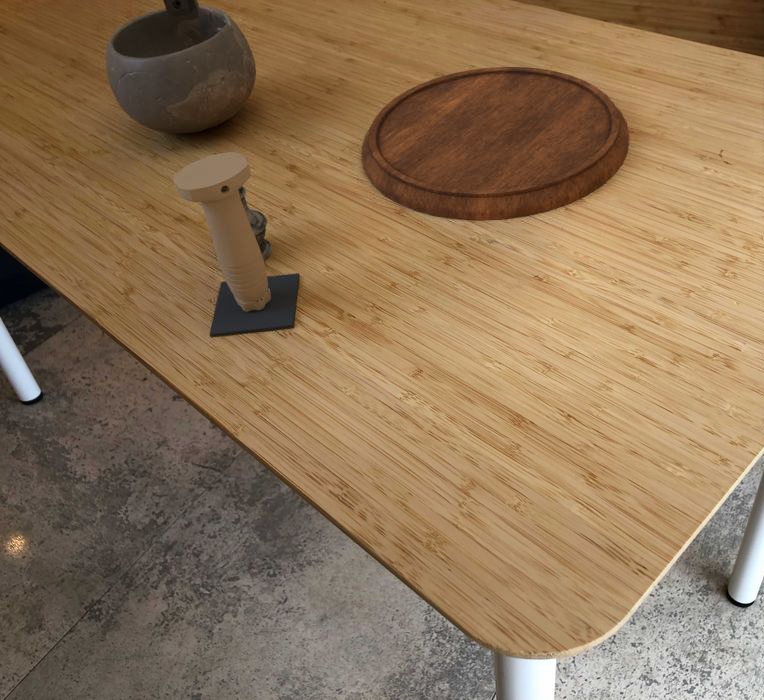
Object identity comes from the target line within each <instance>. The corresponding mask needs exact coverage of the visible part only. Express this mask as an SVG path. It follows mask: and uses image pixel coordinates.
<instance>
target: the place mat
mask: <svg viewBox="0 0 764 700" xmlns="http://www.w3.org/2000/svg"><path fill="white" fill-rule="evenodd" d="M300 278H301V275H300V273H299V272H297V273H296V272H295V273H287V274H279V275H270V276H268V275H267V280H268V289H270V293H271V300H270V301H269V302H268V303H267V304H266V305H265V307H264V308H263V309H262V310H252V311H249V312H246V311H243V309H242V307H241V306H239V305H238V303H237V302H236V300H235V298H234V295H233V293H232V292H231V290H230V288H229V286H228V284H227V282H226V280H224V281H220V282H221V283H220V286H219V288H218V289H219V290H218V295H217V299H216V303H215V308H214V311H213V317H212V320H211V321H212V322H211V326H210V330H209V337H210V338H213V337H223V336H224V337H225V336H232V335H241V334H242V335H243V334H250V333H259V332H269V331H276V330H277V331H278V330H286V329H287V330H288V329H294V328H295V320H296V312H297V303H298V295H299V286H300Z"/></svg>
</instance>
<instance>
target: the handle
mask: <svg viewBox="0 0 764 700" xmlns="http://www.w3.org/2000/svg"><path fill="white" fill-rule="evenodd" d="M250 178H251V169H250V164H249V162H248V159H247V157H245V156H244V155H243V154H241V153H239V152H234V151H228V152H222V153H216V155H214V154H212V155H208V156H206V157H203V158H200V159H198V160H195V161H193V162H191V163H189V164H188V165H185V166H184V167H183V168H181V169H180V170H179V171H178V172H176V173H175V174H174V175H173V179H172V180H173V183H174V186H175V188H176V191H177V193H178V194H179V196H180V198H182V199H184V200H185V201H189V202H192V203H200V205H201V207H202V209H203V212H204V216H205V219H206V223H207V226H208V230H209V234H210V233H211V234H210V237H211V240H212V244H213V247H214V251H215V255H216V258H217V262H218V265H219V268H220V270H221V273H222V275H223V278H224V281H226V282H227V284H228V286H229V288H230V290H231V292H232V293H233V295H234V298H235V300H236V302H237V303H238V305H239V306H241V307H242V309H243V311H246V312H249V311H252V310H262V309H263V308H264V307H265V305H266V304H267V303H268V302H269V301H270V300H271V293H270V289H268V280H267V277H268V274H267V269H266V264H265V261H264V260H263V257H262V254H261V251H260V248H259V245H258V243H257V240H256V238H255V235H254V233H253V230H252V228H251V225H250V223H249V220H248V218H247V215H246V212H245V210H244V207H243V204H242V202H241V199H240V195H239V190H238V189H239V188H240V187H241V186H244V185H245V184H246V183H247V182H248V180H249V179H250Z"/></svg>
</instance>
